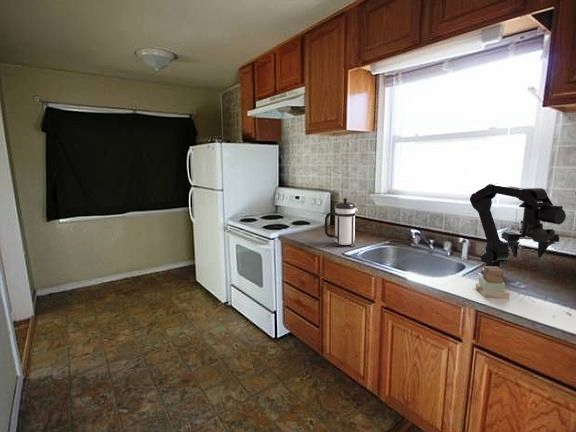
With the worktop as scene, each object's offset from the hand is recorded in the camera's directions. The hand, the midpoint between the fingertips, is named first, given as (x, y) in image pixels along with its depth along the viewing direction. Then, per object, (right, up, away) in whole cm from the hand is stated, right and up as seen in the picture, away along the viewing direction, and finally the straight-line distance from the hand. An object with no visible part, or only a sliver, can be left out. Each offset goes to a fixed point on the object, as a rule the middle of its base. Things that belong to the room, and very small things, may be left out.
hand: (527, 257), depth 130 cm
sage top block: (-17, -12, -3) cm, 21 cm away
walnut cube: (-17, -9, -4) cm, 19 cm away
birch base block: (-17, -15, -3) cm, 22 cm away
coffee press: (-63, -2, +71) cm, 95 cm away
